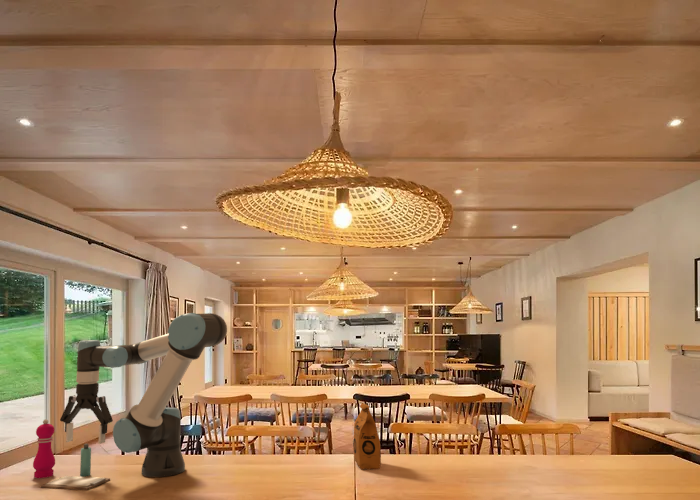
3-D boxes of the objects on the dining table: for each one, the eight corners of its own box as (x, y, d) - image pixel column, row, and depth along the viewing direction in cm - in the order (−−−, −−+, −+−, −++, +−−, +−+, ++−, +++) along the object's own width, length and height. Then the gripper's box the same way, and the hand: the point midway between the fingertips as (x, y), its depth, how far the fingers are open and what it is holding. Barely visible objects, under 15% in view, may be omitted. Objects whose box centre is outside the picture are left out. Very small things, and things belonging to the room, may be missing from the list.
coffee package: (355, 470, 213) (354, 408, 215) (352, 462, 225) (351, 403, 227) (383, 469, 214) (381, 407, 216) (378, 461, 226) (377, 402, 228)
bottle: (92, 474, 215) (93, 443, 216) (86, 477, 212) (87, 445, 213) (84, 474, 216) (85, 443, 217) (78, 476, 213) (78, 445, 214)
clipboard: (110, 480, 207) (111, 476, 207) (88, 490, 195) (88, 486, 195) (65, 477, 211) (65, 474, 211) (40, 487, 200) (40, 483, 200)
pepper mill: (45, 479, 210) (47, 421, 212) (27, 478, 212) (29, 421, 214) (59, 473, 217) (61, 417, 219) (42, 473, 219) (43, 417, 221)
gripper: (123, 382, 218) (122, 441, 216) (65, 380, 224) (63, 438, 222) (111, 384, 211) (109, 446, 209) (51, 383, 217) (48, 442, 215)
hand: (85, 442), depth 215 cm, fingers open, 13 cm apart
